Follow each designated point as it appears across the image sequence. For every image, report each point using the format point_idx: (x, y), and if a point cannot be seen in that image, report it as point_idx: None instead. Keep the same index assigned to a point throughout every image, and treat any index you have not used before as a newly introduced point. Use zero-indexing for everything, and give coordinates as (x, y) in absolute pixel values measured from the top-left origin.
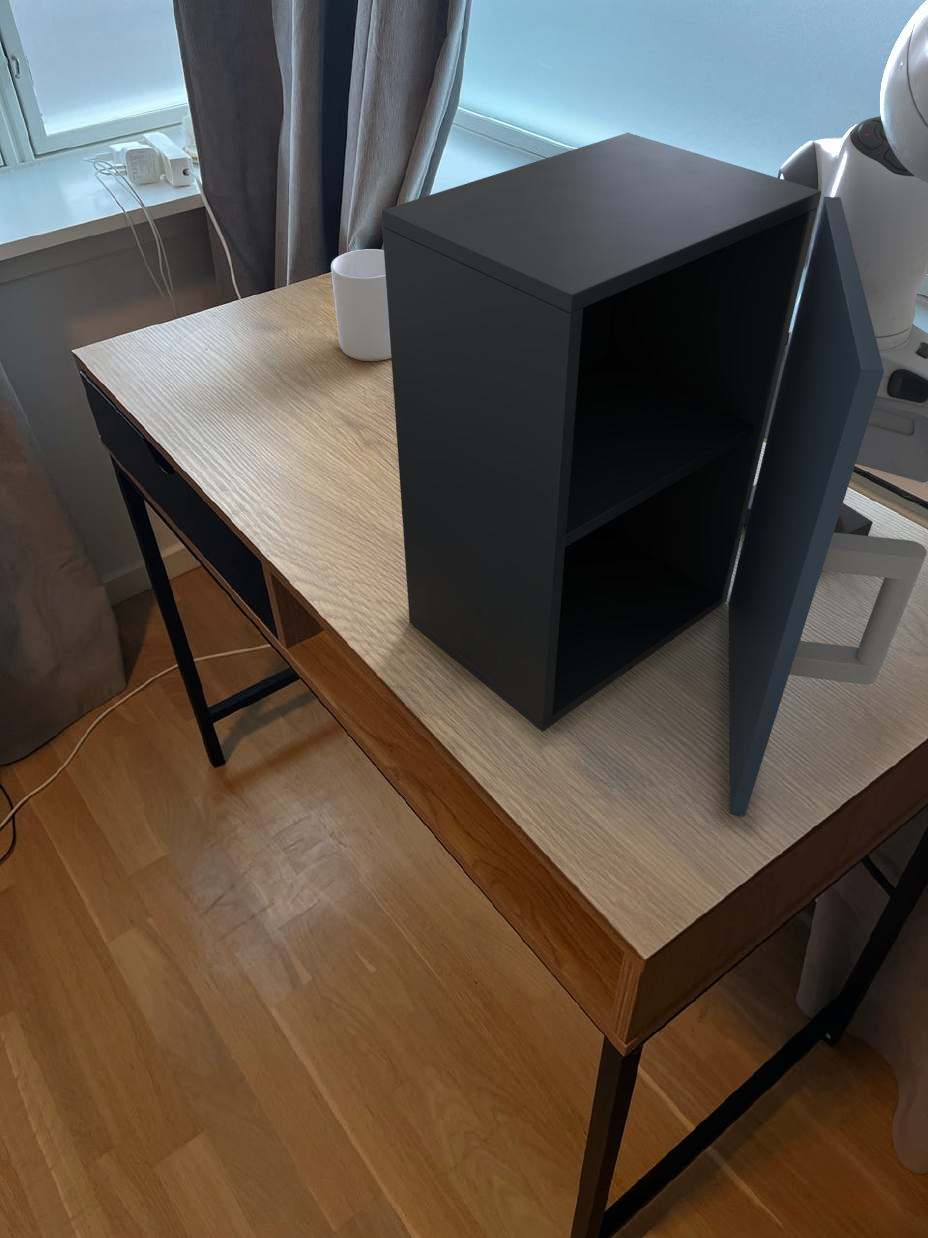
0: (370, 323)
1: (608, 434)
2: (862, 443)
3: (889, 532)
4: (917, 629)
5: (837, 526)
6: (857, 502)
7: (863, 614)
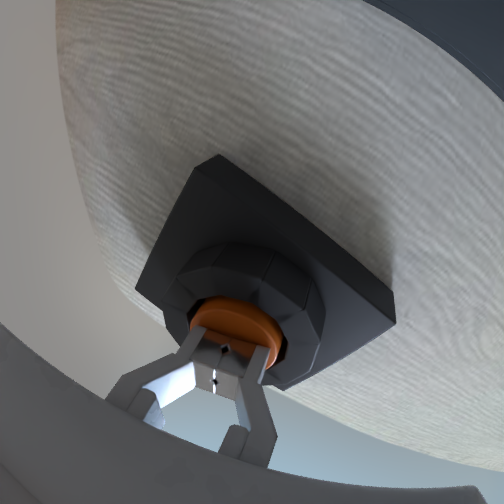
0: None
1: None
2: (25, 422)
3: None
4: (62, 96)
5: (172, 267)
6: None
7: (113, 83)
